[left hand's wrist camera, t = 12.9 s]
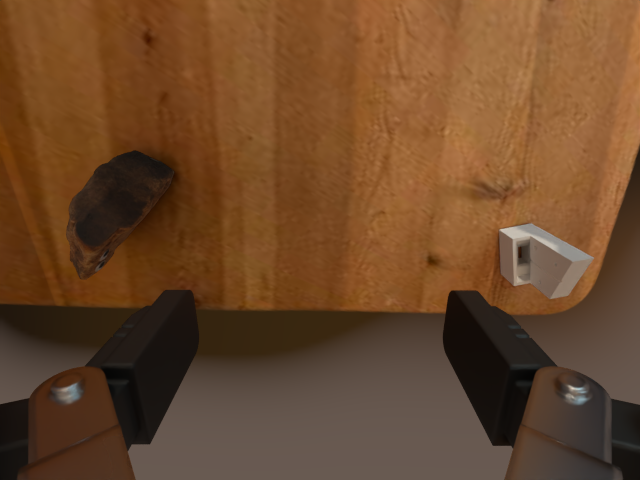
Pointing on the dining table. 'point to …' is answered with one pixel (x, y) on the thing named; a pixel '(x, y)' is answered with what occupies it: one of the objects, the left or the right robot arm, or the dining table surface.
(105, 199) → the decorative rock
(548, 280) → the white angled block
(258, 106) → the dining table surface
